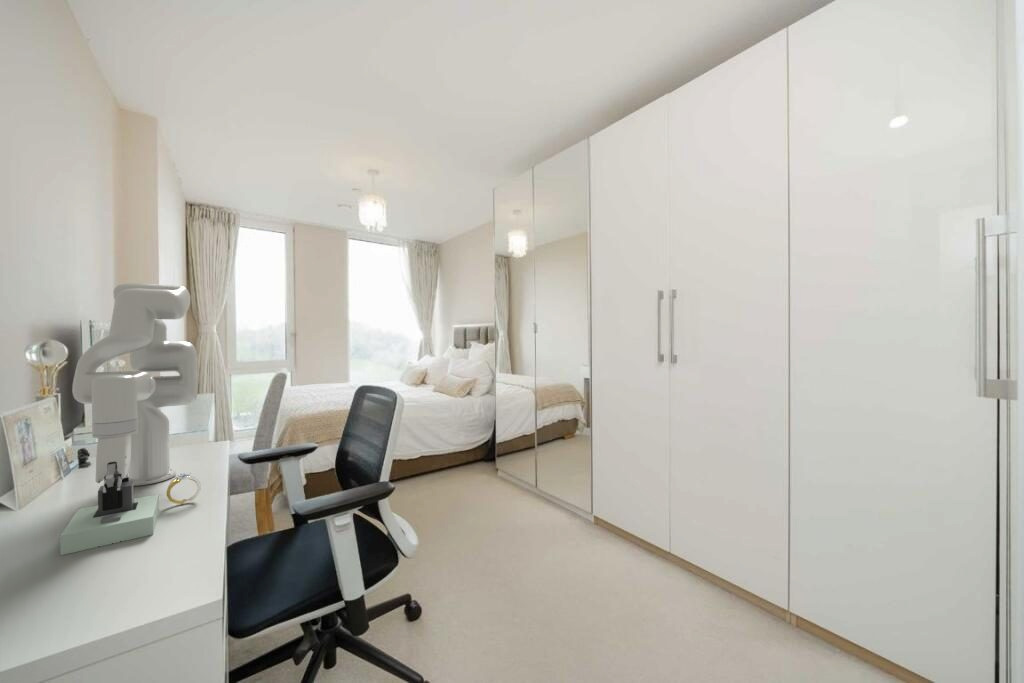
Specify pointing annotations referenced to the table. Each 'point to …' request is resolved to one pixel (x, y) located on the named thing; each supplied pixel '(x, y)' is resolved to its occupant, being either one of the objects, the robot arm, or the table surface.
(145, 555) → the table surface
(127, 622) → the table surface
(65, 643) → the table surface
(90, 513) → the socket
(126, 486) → the plug
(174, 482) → the ring
